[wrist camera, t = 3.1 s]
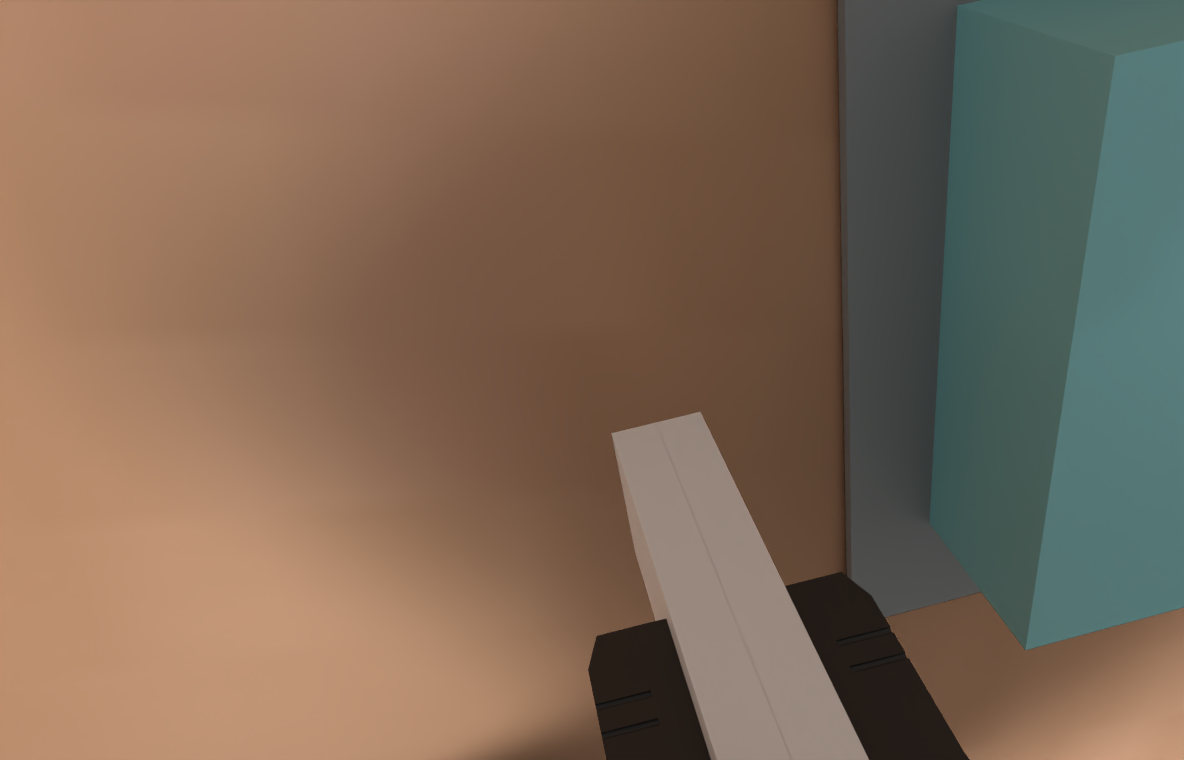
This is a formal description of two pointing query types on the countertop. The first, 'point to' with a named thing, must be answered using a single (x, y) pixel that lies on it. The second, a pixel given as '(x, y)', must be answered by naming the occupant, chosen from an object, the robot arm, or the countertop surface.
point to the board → (894, 290)
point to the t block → (1064, 314)
